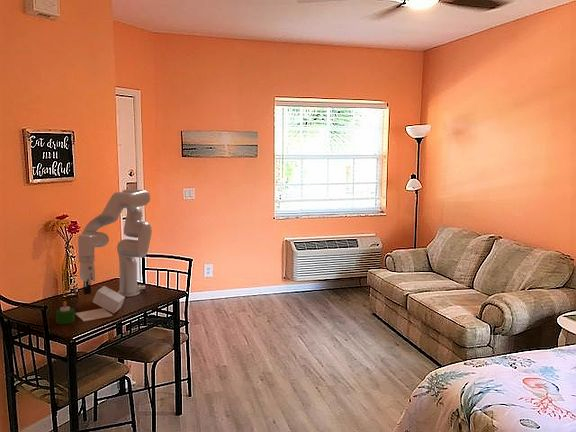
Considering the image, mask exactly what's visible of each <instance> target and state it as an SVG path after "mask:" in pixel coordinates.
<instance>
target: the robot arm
mask: <svg viewBox="0 0 576 432" xmlns="http://www.w3.org/2000/svg"><path fill="white" fill-rule="evenodd" d="M150 200H151V194H150V192H149V191H147V190H145V189H134V188H132V189H131V188H127V189H126V188H125V189H124V190H122V191H119V192H118V191H117V192H116V191H115V192H114V193H113V194H112V195H111V197H110V198H109V200H108V202H107V203H106V205H105V207H104V208H103V211H102V212H101V213H100V214H98V215H97V216H95V217H93V219H91V220H90V221H89V222H88V223H87V224H86V226H84V229H83V230H82V232H81V234H79V235H78V238H77V246H78V247H77V249H78V250H77V251H78V254H77V255H78V256H77V257H78V263H79V277H80V280H82V286H83V288H82V289H83V295H91V294H92V282H95V281H96V270H95V264H94V263H95V248H103V247H106V246H107V245H108V244H109V241H110V238H109V235H108V234H107V233H105V232H101V231H99V229H101V228H103V227H104V226H105V227H106V226H108V225H111V224H115V222H117V221H118V219H119V217H120V216H121V214H122V212H123V210H124V209H126V216H125V221H124V227H123V235H124V236H125V237H128V238H127V239H126V238H125V239H122V240H119V242H118V243H117V245H116V250H117V254H118V263H119V290H118V291H117V293H119V294H120V295H122V296H124V297H125V298H126V297H136V296H138V295H140V293H141V290H145V289H146V285H145V284H143V285H138V262H137V260H136V258H140V259H141V258H145V257H146V256H147V254H148V253H149V249H150V244H151V238H152V231H153V230H152V226H151V223H149V222H147V221H142V220H143V219H142V218H143V211H142V208H141V207H144V206H147V205H148V204H149V203H150ZM130 238H133V239H130ZM134 238H135V239H134Z"/></svg>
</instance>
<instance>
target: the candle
mask: <svg viewBox="0 0 576 432" xmlns="http://www.w3.org/2000/svg"><path fill="white" fill-rule="evenodd" d="M67 304H68V302H67V301H66V300H65V301H64V300H63V302H62V305H63V306H61V307H60V308H57V309H56V310H55V323H56V324H58V325H69V324H71V323H72V324H73V323H74V322H75V321H76V314H75V313H76V312H75V311H76V310H75V308H73V307H70V306H69V305H68V306H67Z"/></svg>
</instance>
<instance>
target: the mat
mask: <svg viewBox="0 0 576 432" xmlns="http://www.w3.org/2000/svg"><path fill="white" fill-rule="evenodd" d="M75 316H76V317H78V318H79V319H80V320H81V321H82V322H88V321H93V320H99V319H105V318H110V317H113V316H114V315H113V313H112V312H110V311H108V310H106V309H104V308H103V307H101V308H97V309H91V310H86V311H80V312H75Z"/></svg>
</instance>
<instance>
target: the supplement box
mask: <svg viewBox="0 0 576 432" xmlns="http://www.w3.org/2000/svg"><path fill="white" fill-rule="evenodd" d="M117 292H118V291H117ZM117 292H116V291H115V290H113V289H111V288H109V287H107V286H105V285H103V286H102V287H100V288H99V289H98V290H97V291H96V293H95V295H94V297H93V300H92V303H93V304H95V305H97V306H99V307H101V308H104V309H105V310H107V311H108V312H109V313H111V314H112V315H113V314H115V313H117V312H118V311H119V310H120V309H121V308H122V306H123V303H124V301H125V299H126V297H124V296H122V295H120V294H119V293H117Z"/></svg>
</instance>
